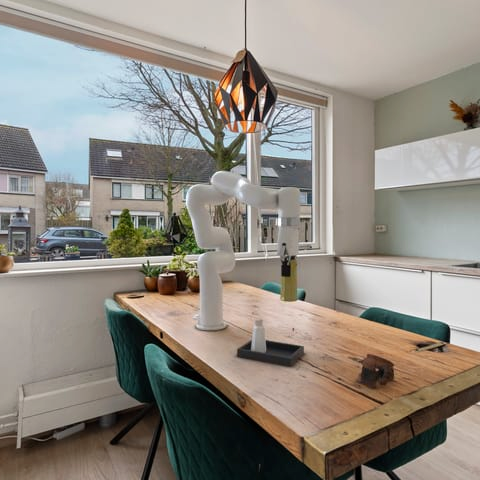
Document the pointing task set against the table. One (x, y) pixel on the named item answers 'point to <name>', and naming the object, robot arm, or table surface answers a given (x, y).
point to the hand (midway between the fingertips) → (288, 274)
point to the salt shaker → (258, 337)
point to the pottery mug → (373, 376)
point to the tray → (273, 353)
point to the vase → (290, 284)
